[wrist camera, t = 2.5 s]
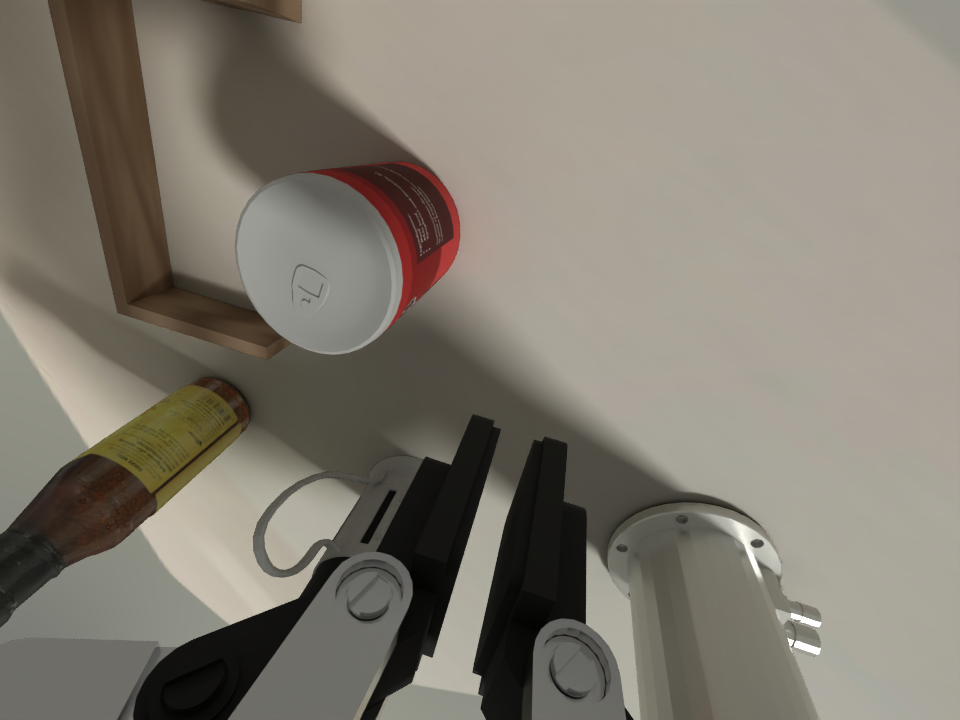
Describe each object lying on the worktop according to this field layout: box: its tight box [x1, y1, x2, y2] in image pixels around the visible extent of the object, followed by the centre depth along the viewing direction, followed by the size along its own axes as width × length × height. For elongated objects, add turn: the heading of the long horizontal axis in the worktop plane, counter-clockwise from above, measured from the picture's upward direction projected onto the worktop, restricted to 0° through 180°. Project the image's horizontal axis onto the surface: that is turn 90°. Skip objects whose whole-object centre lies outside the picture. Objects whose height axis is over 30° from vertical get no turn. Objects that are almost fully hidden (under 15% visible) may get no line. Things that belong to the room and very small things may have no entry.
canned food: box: [235, 162, 460, 355], centre depth 23 cm, size 8×8×11 cm
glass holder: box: [253, 456, 423, 598], centre depth 32 cm, size 9×14×15 cm, turn 26°
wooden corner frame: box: [48, 0, 301, 360], centre depth 28 cm, size 12×21×4 cm, turn 168°
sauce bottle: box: [0, 378, 249, 627], centre depth 31 cm, size 6×6×20 cm
